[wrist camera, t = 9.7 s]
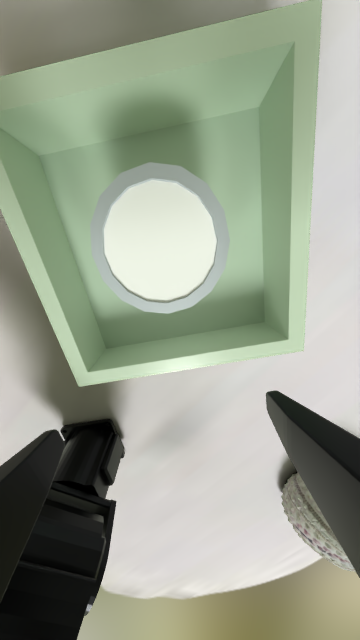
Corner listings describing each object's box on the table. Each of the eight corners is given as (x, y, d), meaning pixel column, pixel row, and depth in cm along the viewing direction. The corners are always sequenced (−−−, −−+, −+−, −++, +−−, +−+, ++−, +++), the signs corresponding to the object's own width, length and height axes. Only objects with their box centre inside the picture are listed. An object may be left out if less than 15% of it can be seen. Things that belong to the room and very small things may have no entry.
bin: (102, 355, 20) (78, 386, 15) (26, 146, 14) (-53, 89, 9) (272, 327, 19) (303, 350, 14) (269, 92, 13) (322, -3, 8)
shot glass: (193, 300, 17) (203, 328, 10) (120, 279, 16) (80, 294, 10) (219, 221, 15) (254, 192, 8) (136, 192, 14) (99, 134, 7)
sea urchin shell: (326, 515, 30) (376, 601, 23) (257, 496, 28) (286, 583, 21) (384, 465, 26) (467, 548, 19) (309, 439, 25) (367, 521, 17)
